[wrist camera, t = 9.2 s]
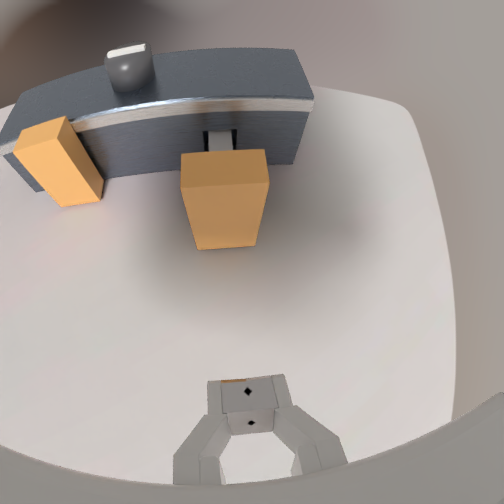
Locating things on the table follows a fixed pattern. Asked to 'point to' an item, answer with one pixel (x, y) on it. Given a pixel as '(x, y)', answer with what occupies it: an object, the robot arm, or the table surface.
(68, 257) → the table surface
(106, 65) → the dial
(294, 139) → the mount
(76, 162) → the knob
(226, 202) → the knob
